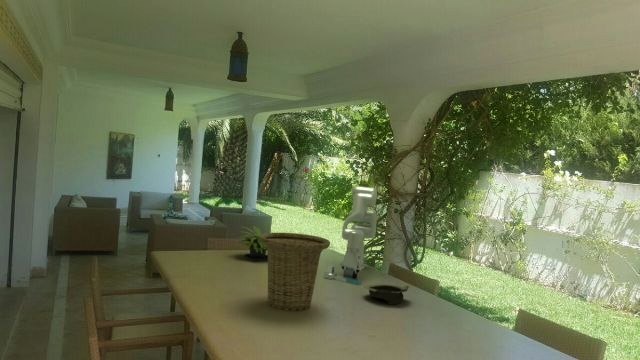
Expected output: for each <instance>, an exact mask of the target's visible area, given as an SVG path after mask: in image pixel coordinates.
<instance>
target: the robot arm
mask: <svg viewBox="0 0 640 360" xmlns="http://www.w3.org/2000/svg"><path fill="white" fill-rule="evenodd" d="M351 194H352V196H353V199H352V206H351V207H352V209H351V214H349V216H348V217H347V218H346V219H345V220H344V222H343V225H342V230H341V238H342V239H343V240H345V241H347V242H346V243H347V244H346V250H345V253H344V256H343V261H342V262H340V264H339V265H340V267H341V269H342V270H343V272H344V269H347V268H351V269H354V272H355V273H354V277H353V278H355V279H358V274H359V272H360V271H363V270H364V269H365V266H364V264H365V261H364V254H365V253H364V252H365V242H364V240H363V239H374V238H375V236H376V233H377V232H376V231H377V220H378V214H377V211H376V210H373V209H368V207H374V206H375V204H376V201H377V197H378V196H377V195H378V191H377V188H376V187H373V186H372V187H370V186H362V185H354V186H353V187H352V188H351ZM353 221H355V222H358V223H354V224H352V225H351V228H348V226H349V224H350V223H351V222H353Z"/></svg>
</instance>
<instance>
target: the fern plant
mask: <svg viewBox="0 0 640 360" xmlns="http://www.w3.org/2000/svg"><path fill="white" fill-rule="evenodd" d="M252 226H253V227H252V228H253V230H251V229H250V228H248V227H245V226H240V227H241V228H244V229H247V230H248V231H249V232H247V234H246V231H243V233H244V234H245V235H241V236H240V238H241V240H240V239H239V238H237V237H234V238H237V239H236V242H235V241H234V243H235V244H237V245H236V247H238V246H239V247H240V246H242V245H243V246H242V247H241V250H242V249H244V248H246V252H248V251H249V253H246V254H244V257H243V258H244V259H245V260H247V261H251V262H258V263H259V262H260V263H261V262H268V254H267V251H268V250H267V246H266V245H265V244H264V243H262V242H261V241H260V236H261V235H262V233H261V230H260V229H261V228H259V227H257V226H255V225H252ZM239 232H240V233H242V230H241V231H240V230H239ZM250 232H251V233H250ZM254 232H255V233H254ZM252 233H253V234H252Z"/></svg>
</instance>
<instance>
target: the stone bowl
mask: <svg viewBox="0 0 640 360" xmlns="http://www.w3.org/2000/svg"><path fill="white" fill-rule="evenodd" d="M409 288H410V286H408V285H406V286H402V285H397V284H395V285H394V284H384V283H383V284H381V283H377V284H367V285H365V286H363V289H366V290H368V292H369V295H370V296H371V297H373V298H376V299H381V300H385V301H386V304H388V305H391V306H392V305H397V304H399V303H402V302H403V301H404V294H403V293H406V292H407V291H408V289H409Z"/></svg>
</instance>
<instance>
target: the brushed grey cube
mask: <svg viewBox="0 0 640 360" xmlns="http://www.w3.org/2000/svg"><path fill="white" fill-rule="evenodd" d="M354 273H355V272H354V269H351V268H347V269H344V271H343V277H347V278H348V277H350V278H353V277H354Z"/></svg>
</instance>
